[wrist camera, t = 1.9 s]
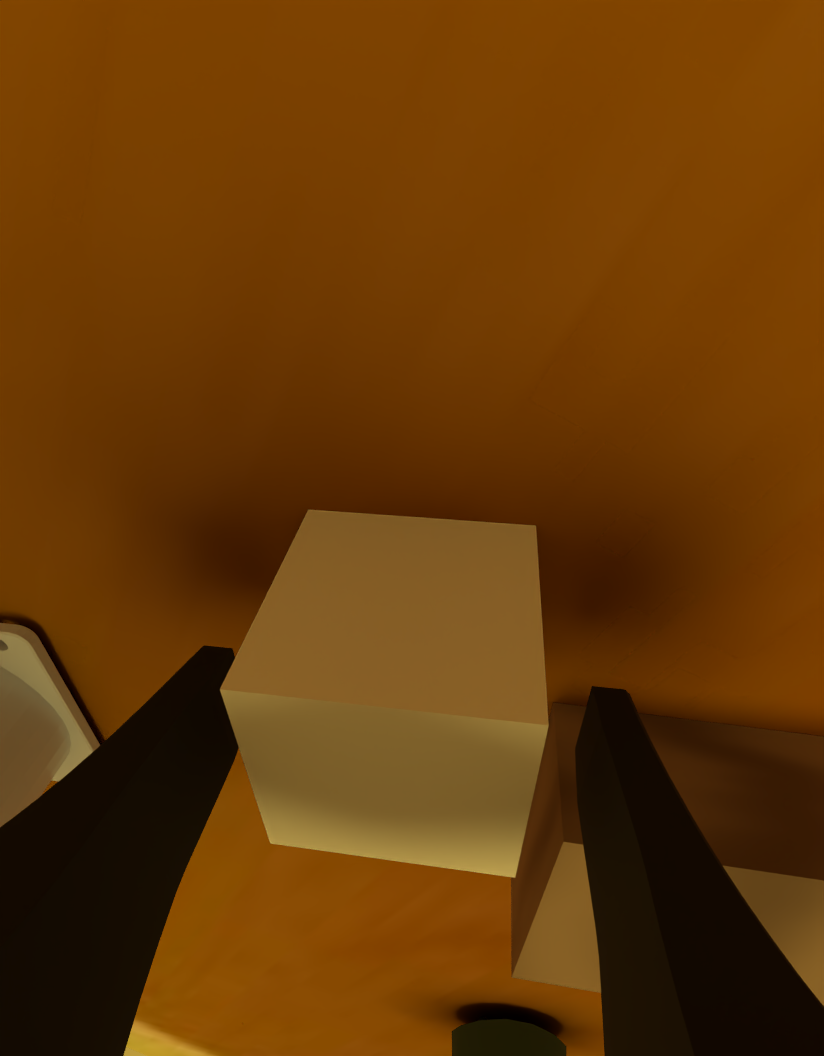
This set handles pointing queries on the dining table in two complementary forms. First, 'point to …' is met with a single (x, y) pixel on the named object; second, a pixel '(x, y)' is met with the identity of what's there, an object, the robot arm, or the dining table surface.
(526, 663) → the cream cube
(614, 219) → the dining table surface
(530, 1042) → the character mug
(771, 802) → the walnut block
